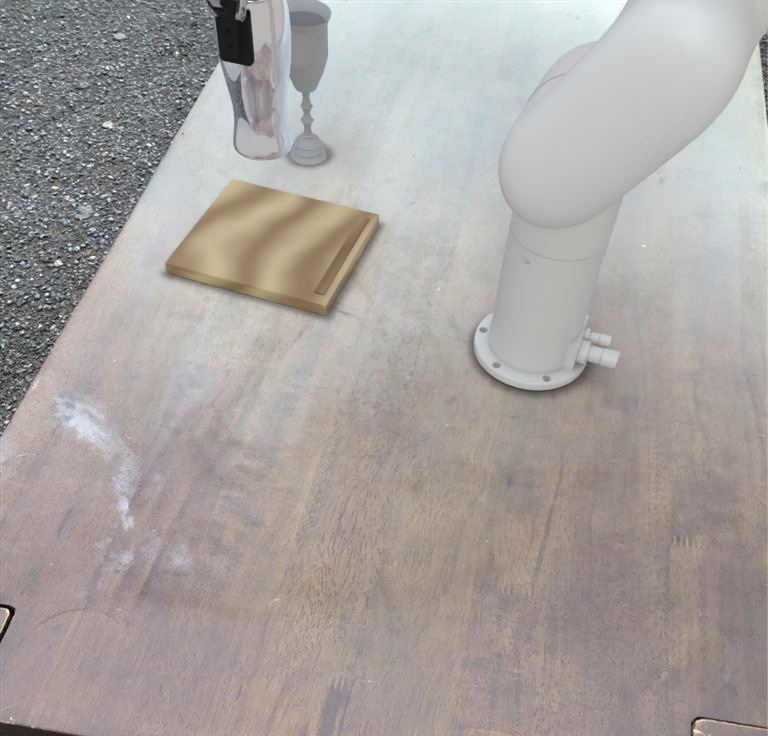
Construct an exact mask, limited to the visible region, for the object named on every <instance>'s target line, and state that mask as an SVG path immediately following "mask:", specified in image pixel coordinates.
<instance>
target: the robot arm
mask: <svg viewBox="0 0 768 736" xmlns="http://www.w3.org/2000/svg"><path fill="white" fill-rule="evenodd" d="M206 3H207V5H208V6H209V8H210V13H211V15H212V17H213V16H215V23H216V32H217V40H218V48H219V55H218V57H219V56H220V58H221V60H222V61H225V62H230V63H235V64H240V65H244V66H252V64H253V63H254V62H255V59H254V48H253V37H252V26H251V17H247V16H246V8H247V0H236V1H235V0H206ZM767 33H768V0H627V1H626V2H625V4H624V6H623V7H622V9H621V11H620V13H619V14H618V15H617V17H616V18H615V19H614V21H613V22H612V24H611V25H610V26H609V27H608V29H607V30H605V32H603V34H602V35H601V36H600V37H599V38H598V39H597V40H595V41H590V42H589V41H588V42H585V43H582V44H580V45H577V46H575V47H574V48H572V49H570V50H568V51H567V52H566V53H564V54H563V55H562V56H561V57H559V58H558V59H557V60H556V61H555V62H554V63H553V64H552V66H551V67H550V68H549V69H548V70H547V71H546V73H545V75H544V76H543V77H542V78H541V80H540V81H539V83H538V85H536V87H535V89H534V90H533V92H532V93H531V94H530V95H529V96H530V97H528V100H527V101H526V104H525V105H524V107H523V109H522V110H521V112H520V113H519V115H518V116H517V117H516V119H515V120H514V122H513V124H512V125H511V127H510V129H509V130H508V132H507V134H506V135H505V138H504V140H503V143H502V146H501V149H500V152H499V156H498V166H497V167H498V168H497V170H498V171H497V172H498V173H497V174H498V175H497V176H498V183H499V188H500V191H501V194H502V196H503V199H504V201H505V202H506V204H507V206H508V207H509V208H510V210H511V216H510V222H509V226H508V230H507V231H508V232H507V237H506V243H505V248H504V253H503V258H502V262H501V263H502V265H501V269H500V273H499V280H498V285H497V290H496V296H495V300H494V307H493V310H492V312H490V313H488V314H487V315H486V316H484V318H482V319H481V321H480V322H479V323H478V325H477V326H476V329H475V332H474V337H473V342H472V344H473V353H474V355H475V359H476V360H477V361H478V363H479V364H480V366H481V367H482V368H483V369H484V370H485V371H486V372H487V373H488V374H489V375H491V376H492V377H493V378H495V380H498V381H499V382H502V383H503V384H505V385H508V386H511V387H514V388H516V389H517V388H518V389H521V390H527V391H549V390H554V389H558V388H562V387H564V386H566V385H569V384H571V383H572V382H573V381H574V380H575V381H576V380H577V378H579V377H580V376H581V374H582V373H583V372H584V370H585V367H586V366H587V364H588V362H589V363H591V364H592V363H593V364H596V365H598V366H600V367H603V368H608V369H611V370H616V367H617V365H618V362H619V359H620V356H621V351H619V350H615V349H612V348H610V346H611V343H612V340H613V335H610V334H607V333H602V332H595V331H593V330H592V327H591V328H590V327H587V325H588V322H589V318H590V314H589V313H588V311H589V308H590V305H591V301H592V298H593V295H594V293H595V288H596V285H597V282H598V280H599V279H598V278H599V276H600V272H601V268H602V266H603V262H604V259H605V256H606V253H607V250H608V246H609V244H610V242H611V241H610V240H611V238H612V235H613V231H614V228H615V225H616V222H617V218H618V215H619V212H620V209H621V207H622V204H623V200H624V196H626V195H627V194H628V193H630V192H631V191H632V190H633V189H634V188H636V187H637V186H639V185H640V184H641V183H642V182H644V181H645V180H647V178H648V177H650V176H651V175H653V174H654V173H655V172H656V171H658V170H660V169H661V168H662V167H663V166H664V165H665V164H666V163H668V162H669V161H670V160H672V159H673V158H674V157H675V156H676V155H678V154H679V153H680V152H682V151H683V150H684V149H685V148H687V147H688V146H689V145H690V144H691V143H693V142H694V141H695V140H696V139H698V138H699V137H700V136H701V135H702V134H703V133H704V132H705V131H706V130H708V128H709V127H710V126H711V125H712V124H713V123H714V122H715V121H716V120H717V119H718V117H719V116H720V115H721V114H722V113H723V112H724V110H725V109H726V108H727V107H728V105H729V104H730V103H731V101H732V99H733V98H734V97H735V95H736V93H737V92H738V89H739V87H740V86H741V83H742V82H743V79H744V77H745V75H746V72H747V70H748V67H749V64H750V61H751V59H752V56H753V55H754V52H755V50H756V48H757V46H758V45H759V43H760V41H761V40H762V39H763V37H765V35H766V34H767Z"/></svg>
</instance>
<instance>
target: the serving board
mask: <svg viewBox="0 0 768 736" xmlns="http://www.w3.org/2000/svg"><path fill="white" fill-rule="evenodd" d="M379 226H380V214H378V213H374V212H370V211H365V210H361V209H357V208H353V207H349V206H345V205H341V204H336V203H332V202H329V201H324V200H320V199H317V198H312V197H308V196H304V195H299V194H296V193H292V192H287V191H283V190H279V189H276V188H272V187H267V186H263V185H258V184H255V183H250V182H247V181H242V180H238V179H234V178H231V179H230V181H229V182H228V183H227V185H225V187H224V188H223V190H222V191H221V192H220V193H219V194H218V196H216V198H215V199H214V201H213V202H212V203H211V205H210V206H209V207H208V208H207V210H206V211H205V212H204V213H203V215H202V216H201V217H200V218H199V220H198V221H197V222H196V223H195V224H194V226H193V227H192V229H191V230H189V232H188V233H187V235H186V236H185V237H184V238H183V239H182V241H181V242H180V243H179V245H178V246H177V247H176V249H174V250H173V252H172V253H171V255H170V256H169V257H168V258H167V260H166V261H165V262H164V264H165V269H166V274H168V275H172V276H176V277H179V278H183V279H188V280H191V281H195V282H199V283H203V284H207V285H209V286H214V287H218V288H221V289H225V290H227V291H228V290H229V291H232V292H236V293H240V294H243V295H248V296H250V297H253V298H254V297H255V298H258V299H262V300H266V301H270V302H273V303H277V304H281V305H285V306H288V307H292V308H296V309H300V310H302V311H306V312H307V311H308V312H309V313H310V312H311V313H314V314H319V315H322V316H326V317H327V315H328V313H329V311H331V308H332V306H333V305H334V304H335V301H336V300H337V298H338V297H339V294H340V292H341V291H342V290H343V287H344V286H345V284H346V283H347V281H348V279H349V277H350V276H351V274H352V272H353V270H354V268H355V267H356V265H357V264H358V262H359V260H360V258H361V256H362V255H363V254H364V251H365V250H366V248H367V246H368V245H369V243H370V241H371V239H372V238H373V236H374V234H375V233H376V230H377V229H378V227H379Z"/></svg>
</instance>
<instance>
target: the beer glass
mask: <svg viewBox="0 0 768 736" xmlns="http://www.w3.org/2000/svg"><path fill="white" fill-rule="evenodd" d="M235 1H236V0H235ZM246 16H247V17H251V26H252V37H253V48H254V59H255V62H254V63H253V64H252V66H244V65H240V64H235V63H230V62H225V61H222V60H221V58H220V56H219V48H218V40H217V32H216V23H215V16H213V15H212V17H213V30H214V36H215V37H214V38H215V44H216V49H217V55H218V59H219V62H220V66H221V70H222V73H223V77H224V80H225V83H226V87H227V90H228V93H229V94H228V95H229V97H230V101H231V104H232V110H233V138H232V139H233V140H232V142H233V143H232V144H233V145H232V146H233V148H234V150H235V152H236V153H237V154H239V155H240V156H242V157H243V158H246V159H249V160H254V161H257V162H266V161H267V162H268V161H274V160H277V159H280V158H282V157H284V156H285V155H287V154H288V153H289V152H291V150H292V147H293V145H294V139H293V135H292V134H293V133H292V130H291V125H290V122H289V117H288V91H289V83H290V78H289V75H290V66H291V49H292V46H291V25H290V15H289V7H288V0H247V8H246Z"/></svg>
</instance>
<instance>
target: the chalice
mask: <svg viewBox="0 0 768 736" xmlns="http://www.w3.org/2000/svg"><path fill="white" fill-rule="evenodd" d="M288 7H289V15H290V25H291V46H292V49H291V66H290V75H289V80H290V81H291V83H292V85H293V87H294V89H295V90H296V92H299V93H301V96H302V101H301V104H300V108H301V110H302V113H303V115H302V117H301V118H300V122H301V124H302V125H303V128H304V129H303V132H302V133H300V134H298V136H297V137H296V138H295V139H294V141H293V146H292V148H291V150H290V153H289V157H290V159H291V160H292V161H293V162H295V163H296V164H298V165H302V166H315V165H320V164H321V163H323V162H325V161H326V159H328V153H327V150H326V149H325V145H324V144H323V141H322V139H321V138H320V137H319V136H318V134H316V133H314V132H312V124H313V123H314V117H312V115H311V111H312V108H313V106H314V105H313V103H312V102H311V98H310V95H311V93H313V92H315V91H316V90H317V88H318V86H319V83H320V81H321V79H322V77H323V74H324V72H325V69H326V65H327V62H328V58H329V31H328V28H329V21H330V20H331V17H332V10H331V8H330V7H329V6H328V4H326V3H324V2H322V1H320V0H288Z"/></svg>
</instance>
